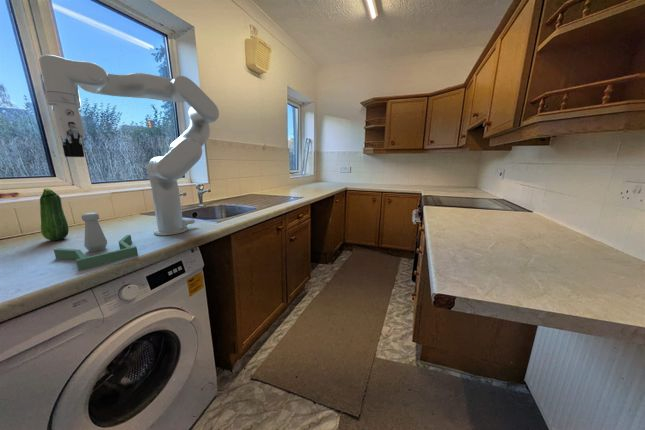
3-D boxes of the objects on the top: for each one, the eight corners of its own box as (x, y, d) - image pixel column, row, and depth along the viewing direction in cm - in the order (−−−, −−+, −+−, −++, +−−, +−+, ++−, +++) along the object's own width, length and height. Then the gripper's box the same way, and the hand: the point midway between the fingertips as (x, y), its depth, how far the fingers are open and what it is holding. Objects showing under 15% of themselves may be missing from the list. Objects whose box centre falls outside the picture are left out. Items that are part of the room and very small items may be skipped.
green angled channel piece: (131, 241, 93) (130, 234, 93) (148, 253, 82) (147, 244, 82) (55, 258, 78) (53, 249, 77) (64, 274, 67) (61, 264, 67)
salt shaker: (95, 253, 82) (86, 215, 79) (81, 252, 83) (72, 214, 80) (112, 247, 87) (105, 211, 84) (99, 246, 88) (92, 211, 86)
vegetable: (56, 237, 99) (44, 187, 94) (76, 236, 99) (64, 187, 95) (38, 243, 91) (23, 189, 87) (59, 242, 92) (46, 189, 88)
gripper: (86, 100, 76) (96, 157, 79) (75, 106, 86) (84, 157, 89) (50, 94, 70) (62, 156, 73) (43, 102, 80) (53, 156, 83)
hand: (74, 156), depth 81 cm, fingers open, 9 cm apart
